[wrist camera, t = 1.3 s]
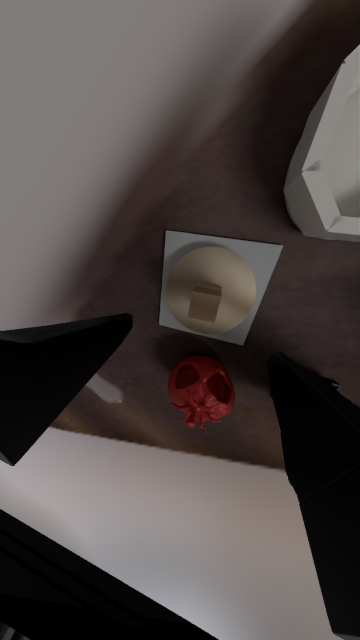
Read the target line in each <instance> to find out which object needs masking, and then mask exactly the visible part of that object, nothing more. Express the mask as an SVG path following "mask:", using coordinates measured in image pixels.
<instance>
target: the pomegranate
mask: <svg viewBox="0 0 360 640" xmlns="http://www.w3.org/2000/svg"><path fill="white" fill-rule="evenodd" d="M168 391H169V394H170V396H171V398H172V400H173V401H174V403H175V404H173V403H171V404H170V405H173V406H174V407H175V408H176V409H178V410H181V411H182V412H183V413H185V414H186V416H185V418H184V419H183V420H181V421H180V422H183V421H184V420H186V419H187V418H188V417H189V418H188V419H187V420H186V425H187V427H190V428H194V421H195V420H197V421H198V422H199V426H200V428H203V429H206V428H205V427H203V426H202V424H203V422H204V421H206V420H210V421H212V422H218V421H223V420H215V419H217V418H220V417H221V416H225V415H227V414H229V413H230V412H231V411H232V409H233V406H234V399H235V392H234V389H233V385H232V382H231V380H230V377H229V374H228V373H227V371H226V369H225V367H224V366H223V365H222V364H221V363H219V362H218V361H217V360H214V359H212V358H209V357H205V356H191V357H188V358H185V359H183V360H181V361H180V362H179V363H178V364H177V365H176V366H175V368H174V369H173V370H172V372H171V374H170V377H169V380H168ZM180 422H179V423H180Z"/></svg>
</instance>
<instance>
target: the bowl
mask: <svg viewBox="0 0 360 640" xmlns="http://www.w3.org/2000/svg"><path fill="white" fill-rule="evenodd" d="M283 189H285V190H284V191H283V192H284V194H285V203H286V208H287V211H288V214H289V216H290V218H291V220H292V221H293V223H294V224H295V225H296V226H297V228H299V229H300V230H301V231H302V233H303V235H305V236H310V237H314V238H318V239H323V240H344V241H353V242H360V45H359V46H358V47H357V48H356V49H355V50H354V51H353V52H352V53H351V54H350V55H349V56H347V57H346V58H345V59H344V61H343V63H342V64H341V66H340V67H339V69H338V70H337V72H336V74H335V75H334V77H333V78H332V80H331V81H330V83H329V85H328V86H327V88H326V89H325V91H324V92H323V94H322V95H321V97H320V99H319V100H318V102H317V103H316V105H315V106H314V108H313V110H312V111H311V113H310V114H309V117H308V119H307V122H306V125H305V128H304V131H303V134H302V137H301V139H300V141H299V143H298V145H297V147H296V149H295V151H294V153H293V156H292V158H291V161H290V164H289V167H288V171H287V175H286V181H285V185H284V188H283Z"/></svg>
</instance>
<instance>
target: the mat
mask: <svg viewBox="0 0 360 640" xmlns="http://www.w3.org/2000/svg"><path fill="white" fill-rule="evenodd" d="M203 247H220V248H225V249H228V250H230V251H232V252H234V253H236V254H237V255H239V256H240V257H241V258H242V259H243V260H244V261H245V262H246V263H247V264H248V266H249V267H250V268H251V271H252V273H253V275H254V278H255V283H256V297H255V301H254V304H253V307H252V309H251V311H250V313H249V314H248V316H247V317H246V318H245V319H244V320H243V321H242V322H241V323H240V324H239V325H237V326H236V327H234V328H233V329H231V330H228V331H226V332H223V333H218V334H202V333H198V332H194V331H192V330H190V329H188V328H186V327H185V326H183V325H182V324H181V323H180V322H179V321H177V319H176V318H175V317H174V316H173V314H172V313H171V311H170V309H169V306H168V303H167V299H166V284H167V279H168V276H169V274H170V272H171V270H172V268H173V267H174V265H175V264H176V263H177V262H178V261H179V260H180V259H181V258H182V257H183V256H184V255H186V254H187V253H189V252H191V251H193V250H196V249H199V248H203ZM282 248H283V246H282V245H274V244H267V243H259V242H251V241H244V240H236V239H228V238H221V237H213V236H206V235H198V234H190V233H183V232H175V231H167V230H166V238H165V252H164V265H163V278H162V292H161V305H160V319H159V325H162V326H166V327H170V328H174V329H178V330H182V331H187V332H191V333H195V334H199V335H203V336H207V337H211V338H215V339H219V340H223V341H227V342H231V343H235V344H239V345H243V344H244V342H245V339H246V337H247V334H248V332H249V329H250V327H251V324H252V322H253V320H254V317H255V315H256V312H257V310H258V307H259V305H260V302H261V300H262V297H263V295H264V292H265V290H266V287H267V285H268V282H269V280H270V277H271V275H272V272H273V270H274V267H275V265H276V263H277V260H278V258H279V255H280V253H281V250H282Z"/></svg>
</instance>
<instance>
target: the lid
mask: <svg viewBox="0 0 360 640" xmlns="http://www.w3.org/2000/svg"><path fill="white" fill-rule="evenodd" d="M255 297H256V283H255V278H254V275H253V273H252V271H251V268H250V267H249V266H248V264H247V263H246V262H245V261H244V260H243V259H242V258H241V257H240V256H239V255H237V254H236V253H234V252H232V251H230V250H228V249H225V248H220V247H203V248H199V249H196V250H193V251H191V252H189V253H187V254H186V255H184V256H183V257H182V258H181V259H180V260H179V261H178V262H177V263H176V264H175V265H174V267H173V268H172V270H171V272H170V274H169V276H168V279H167V284H166V299H167V303H168V306H169V309H170V311H171V313H172V314H173V316H174V317H175V318H176V319H177V321H179V322H180V323H181V324H182V325H183V326H185V327H186V328H188V329H190V330H192V331H194V332H198V333H202V334H218V333H223V332H226V331H228V330H231V329H233V328H234V327H236V326H237V325H239V324H240V323H241V322H242V321H243V320H244V319H245V318H246V317H247V316H248V314H249V313H250V311H251V309H252V307H253V304H254V301H255Z"/></svg>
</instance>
